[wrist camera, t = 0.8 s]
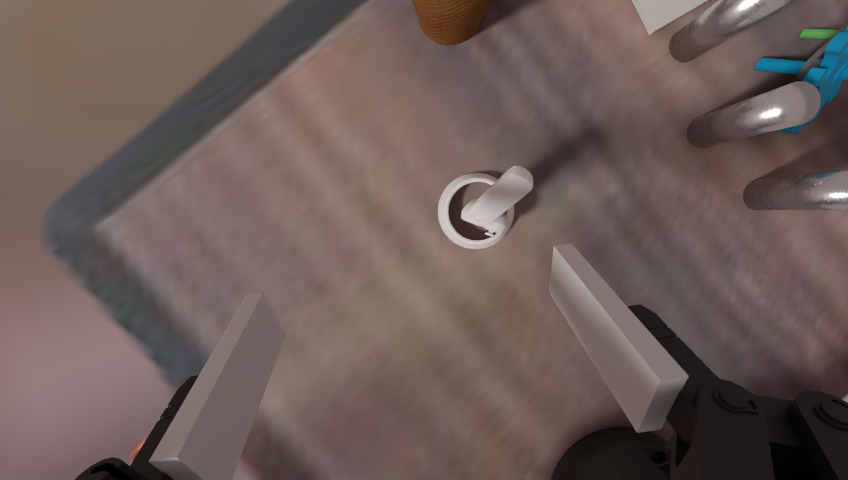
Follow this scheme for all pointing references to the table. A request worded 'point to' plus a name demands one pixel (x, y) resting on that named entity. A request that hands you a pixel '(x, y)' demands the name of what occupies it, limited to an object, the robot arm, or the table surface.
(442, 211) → the hook
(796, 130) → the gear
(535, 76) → the table surface
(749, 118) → the spacer posts
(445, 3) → the disposable coffee cup
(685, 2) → the rubber mat
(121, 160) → the table surface
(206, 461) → the robot arm
